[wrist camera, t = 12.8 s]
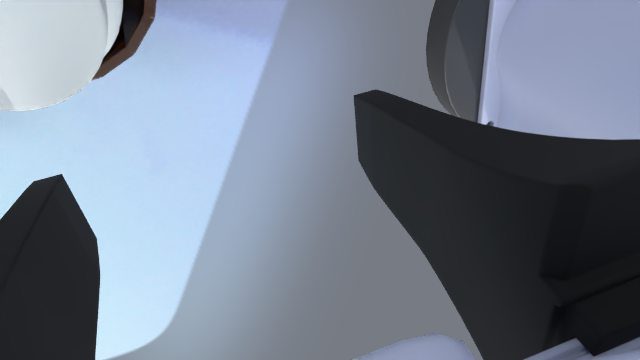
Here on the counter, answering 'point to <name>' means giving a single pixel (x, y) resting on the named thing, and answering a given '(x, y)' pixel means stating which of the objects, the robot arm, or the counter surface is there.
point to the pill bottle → (52, 48)
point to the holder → (128, 34)
